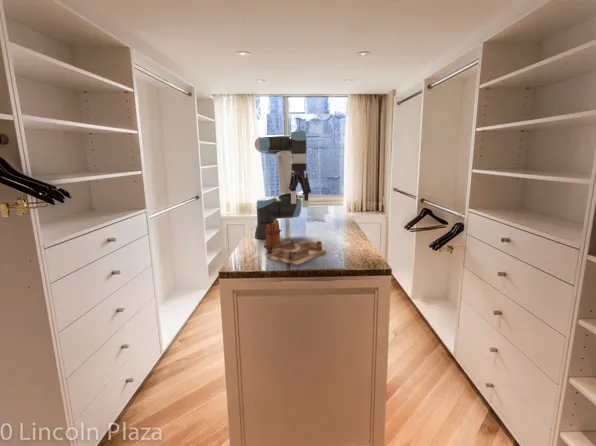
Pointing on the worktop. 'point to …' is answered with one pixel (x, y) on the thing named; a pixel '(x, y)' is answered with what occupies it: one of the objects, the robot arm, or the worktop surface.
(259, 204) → the robot arm
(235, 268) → the worktop surface
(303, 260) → the seat
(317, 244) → the leg
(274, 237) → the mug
